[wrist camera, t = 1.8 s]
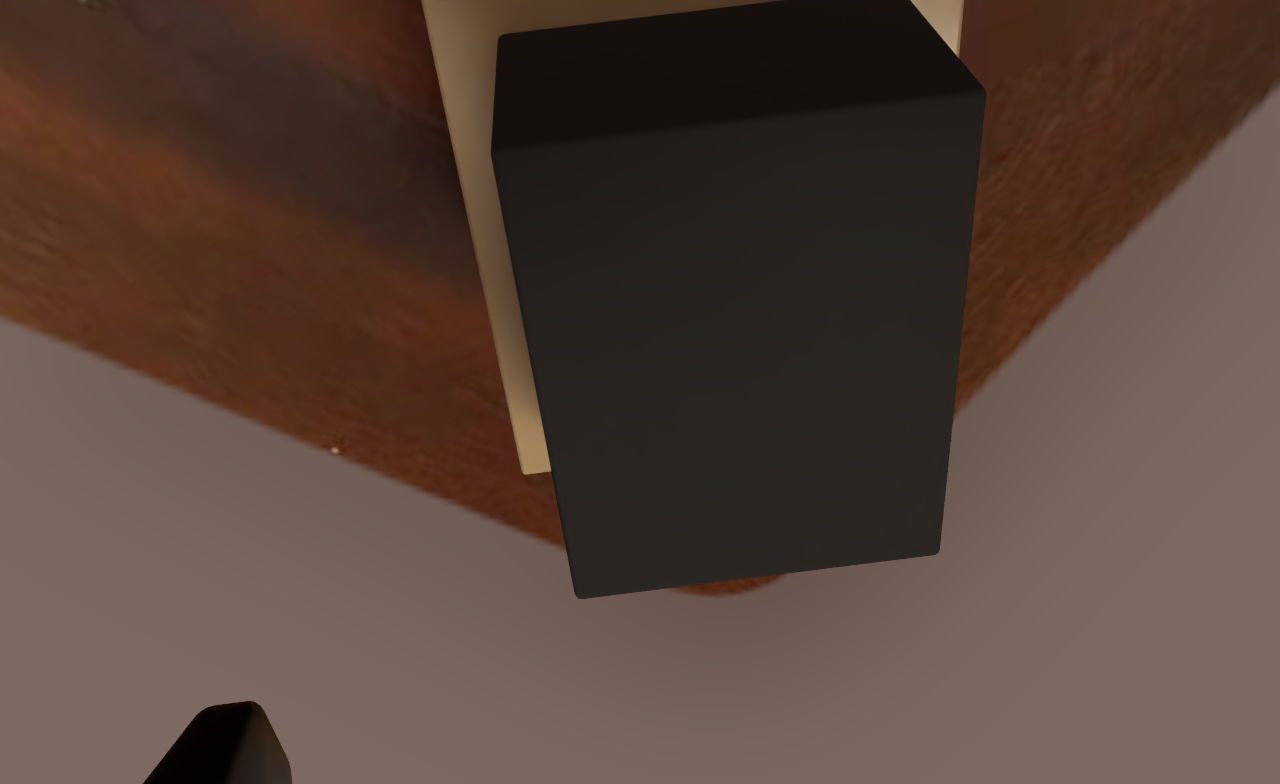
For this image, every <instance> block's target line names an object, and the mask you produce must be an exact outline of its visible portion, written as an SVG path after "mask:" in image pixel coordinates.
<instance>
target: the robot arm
mask: <svg viewBox="0 0 1280 784" xmlns="http://www.w3.org/2000/svg"><path fill="white" fill-rule="evenodd" d="M143 784H292V776H291V769H290V765H289V761H288V759H287V757H286V754H285V752H284V750H283V748H282V746H281V744H280V742H279V740H278V738H277V736H276V734H275V732H274V730H273V728H272V726H271V724H270V722H269V720H268V718H267V716H266V714H265V712H264V710H263V709H262V707H261V706H260V705H258V704H257V703H255V702H252V701H246V702H238V703H230V704H222V705H215V706H211V707H208V708H205V709H204V710H202V711H201V712H200V713H199V714H197V715H196V717H195V718H194V719H193V720H192V721H191V723H190V724H189V725H188V726H187V728H186V729H185V730H184V732H183V733H182V734H181V736H180V737H179V738H178V739H177V741H176V742H175V743H174V744H173V746H172V747H171V748H170V750H169V751H168V752H167V753H166V755H165V756H164V757H163V759H162V760H161V761H160V762H159V764H158V765H157V767H156V768H155V769H154V770H153V771H152V773H151V774H150V775H149V777H148V778H147V779H146V780H145V782H144V783H143Z"/></svg>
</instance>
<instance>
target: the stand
mask: <svg viewBox="0 0 1280 784" xmlns="http://www.w3.org/2000/svg"><path fill="white" fill-rule="evenodd" d="M772 1H780V0H421V2H422V7H423V11H424V16H425V21H426V25H427V30H428V35H429V39H430V44H431V49H432V54H433V58H434V63H435V68H436V72H437V77H438V82H439V86H440V91H441V96H442V100H443V105H444V110H445V114H446V119H447V124H448V128H449V133H450V138H451V143H452V147H453V152H454V157H455V161H456V166H457V171H458V175H459V180H460V185H461V189H462V194H463V199H464V203H465V208H466V213H467V217H468V222H469V227H470V231H471V236H472V241H473V246H474V250H475V255H476V260H477V264H478V269H479V274H480V278H481V283H482V288H483V292H484V297H485V302H486V306H487V311H488V316H489V320H490V325H491V330H492V335H493V339H494V344H495V349H496V353H497V358H498V363H499V367H500V372H501V377H502V381H503V386H504V391H505V395H506V400H507V405H508V409H509V414H510V419H511V423H512V428H513V433H514V438H515V442H516V447H517V452H518V456H519V461H520V466H521V470H522V472H523V474H533V473H541V472H549V471H551V467H550V462H549V457H548V451H547V446H546V441H545V436H544V431H543V425H542V420H541V415H540V410H539V404H538V399H537V394H536V389H535V384H534V378H533V373H532V368H531V363H530V357H529V352H528V347H527V342H526V337H525V331H524V326H523V321H522V316H521V310H520V305H519V300H518V295H517V290H516V284H515V279H514V274H513V269H512V264H511V258H510V253H509V248H508V243H507V237H506V232H505V227H504V222H503V217H502V211H501V206H500V201H499V196H498V190H497V185H496V180H495V175H494V170H493V164H492V159H491V140H492V124H493V108H494V92H495V75H496V59H497V43H498V38H499V36H501V35H503V34H509V33H517V32H525V31H534V30H542V29H550V28H558V27H567V26H575V25H583V24H591V23H599V22H608V21H616V20H624V19H632V18H641V17H649V16H657V15H665V14H674V13H682V12H690V11H698V10H706V9H715V8H723V7H731V6H739V5H748V4H756V3H764V2H772ZM911 1H912V3H913V4H914V5H915V6H916V7H917V9H918V10H919V11H920V12H921V13H922V15H923V16H924V17H925V18H926V19H927V21H928V22H929V23H930V24H931V25H932V27H933V28H934V29H935V30H936V31H937V33H938V34H939V35H940V36H941V37H942V39H943V40H944V41H945V42H946V43H947V45H948V46H949V47H950V48H951V49H952V51H953V52H954V53H955V54H956V55H957V57H958V58H959V51H960V39H961V27H962V15H963V4H964V0H911Z"/></svg>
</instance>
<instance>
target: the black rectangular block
mask: <svg viewBox="0 0 1280 784" xmlns="http://www.w3.org/2000/svg"><path fill="white" fill-rule="evenodd" d="M985 100H986V92H985V89H984V88H983V86H982V85H981V84H980V83H979V82H978V80H977V79H976V78H975V77H974V76H973V74H972V73H971V72H970V71H969V70H968V69H967V67H966V66H965V65H964V64H963V63H962V61H961V60H960V59H959V58H958V57H957V55H956V54H955V53H954V52H953V51H952V49H951V48H950V47H949V46H948V45H947V43H946V42H945V41H944V40H943V39H942V37H941V36H940V35H939V34H938V33H937V31H936V30H935V29H934V28H933V27H932V25H931V24H930V23H929V22H928V21H927V19H926V18H925V17H924V16H923V15H922V13H921V12H920V11H919V10H918V9H917V7H916V6H915V5H914V4H913V3H912V1H911V0H780V1H772V2H764V3H756V4H748V5H739V6H731V7H723V8H715V9H706V10H698V11H690V12H682V13H674V14H665V15H657V16H649V17H641V18H632V19H624V20H616V21H608V22H599V23H591V24H583V25H575V26H567V27H558V28H550V29H542V30H534V31H525V32H517V33H509V34H503V35H501V36H499V38H498V43H497V59H496V75H495V92H494V108H493V124H492V140H491V159H492V164H493V170H494V175H495V180H496V185H497V190H498V196H499V201H500V206H501V211H502V217H503V222H504V227H505V232H506V237H507V243H508V248H509V253H510V258H511V264H512V269H513V274H514V279H515V284H516V290H517V295H518V300H519V305H520V310H521V316H522V321H523V326H524V331H525V337H526V342H527V347H528V352H529V357H530V363H531V368H532V373H533V378H534V384H535V389H536V394H537V399H538V404H539V410H540V415H541V420H542V425H543V431H544V436H545V441H546V446H547V451H548V457H549V462H550V467H551V472H552V478H553V483H554V488H555V493H556V498H557V504H558V509H559V514H560V519H561V524H562V530H563V535H564V540H565V545H566V551H567V556H568V561H569V566H570V571H571V577H572V582H573V587H574V592H575V595H576V596H577V597H578V598H579V599H585V598H594V597H602V596H609V595H617V594H626V593H633V592H641V591H650V590H658V589H666V588H674V587H682V586H690V585H698V584H706V583H714V582H722V581H730V580H738V579H746V578H754V577H762V576H770V575H778V574H786V573H794V572H802V571H810V570H818V569H826V568H833V567H841V566H850V565H858V564H866V563H874V562H881V561H890V560H897V559H906V558H914V557H922V556H930V555H936V554H938V552H939V550H940V540H941V531H942V521H943V511H944V502H945V491H946V482H947V472H948V461H949V453H950V442H951V433H952V423H953V413H954V404H955V394H956V384H957V374H958V364H959V355H960V345H961V335H962V325H963V315H964V306H965V296H966V286H967V276H968V266H969V257H970V247H971V237H972V227H973V217H974V208H975V198H976V188H977V178H978V168H979V159H980V149H981V139H982V129H983V120H984V110H985Z"/></svg>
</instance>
